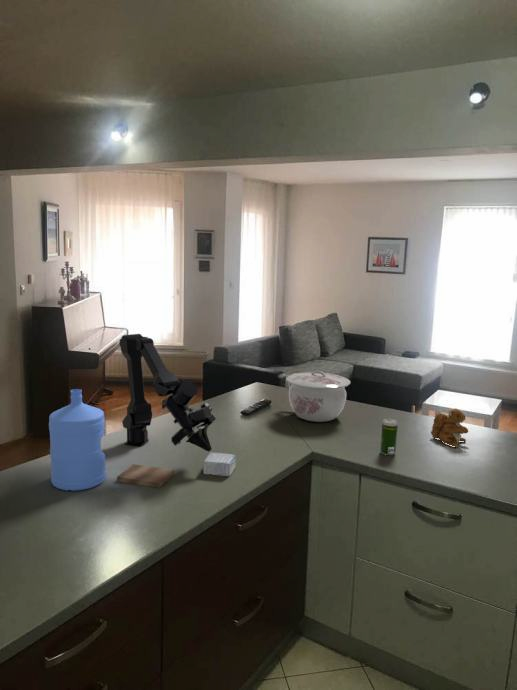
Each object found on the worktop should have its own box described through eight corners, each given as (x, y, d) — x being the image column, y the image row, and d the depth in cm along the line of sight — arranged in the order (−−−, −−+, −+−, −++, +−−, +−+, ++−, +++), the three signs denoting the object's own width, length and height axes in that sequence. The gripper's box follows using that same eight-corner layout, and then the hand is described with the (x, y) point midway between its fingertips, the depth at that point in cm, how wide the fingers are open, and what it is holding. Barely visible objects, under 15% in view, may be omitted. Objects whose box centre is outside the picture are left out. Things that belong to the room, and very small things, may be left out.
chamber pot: (353, 428, 212) (356, 379, 209) (285, 426, 213) (287, 377, 209) (343, 408, 240) (345, 364, 236) (283, 406, 240) (284, 362, 237)
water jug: (75, 497, 148) (71, 401, 143) (40, 483, 156) (35, 391, 151) (117, 477, 161) (115, 389, 156) (82, 465, 169) (79, 381, 164)
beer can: (398, 455, 185) (401, 422, 183) (385, 457, 184) (387, 424, 182) (389, 449, 190) (392, 418, 188) (377, 451, 189) (379, 419, 186)
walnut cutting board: (117, 481, 158) (117, 476, 158) (133, 468, 168) (133, 464, 168) (159, 487, 155) (159, 483, 155) (173, 474, 164) (173, 470, 164)
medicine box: (202, 474, 165) (229, 477, 164) (203, 460, 164) (230, 463, 163) (210, 464, 173) (235, 467, 171) (210, 451, 172) (236, 454, 171)
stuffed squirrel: (457, 449, 193) (460, 415, 191) (423, 438, 203) (426, 406, 201) (470, 443, 199) (474, 410, 197) (437, 433, 210) (439, 401, 208)
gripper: (179, 404, 157) (211, 446, 154) (211, 390, 174) (240, 427, 171) (158, 425, 162) (188, 466, 159) (190, 409, 178) (218, 446, 176)
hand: (210, 450), depth 166 cm, fingers closed
